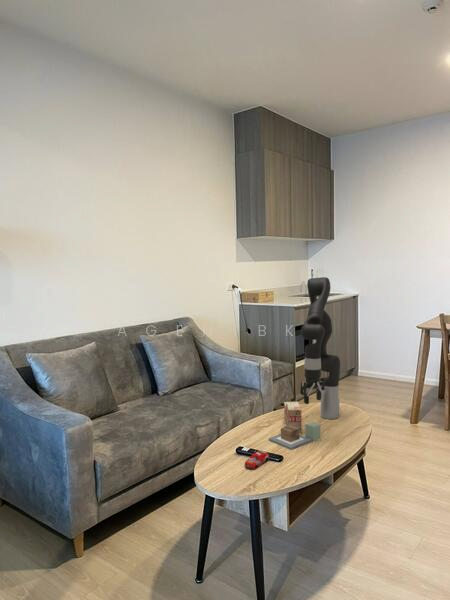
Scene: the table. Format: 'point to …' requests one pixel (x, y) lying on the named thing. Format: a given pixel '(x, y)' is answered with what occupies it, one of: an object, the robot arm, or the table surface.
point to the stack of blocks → (292, 414)
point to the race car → (257, 460)
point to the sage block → (313, 431)
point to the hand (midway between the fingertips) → (312, 401)
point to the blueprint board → (273, 439)
